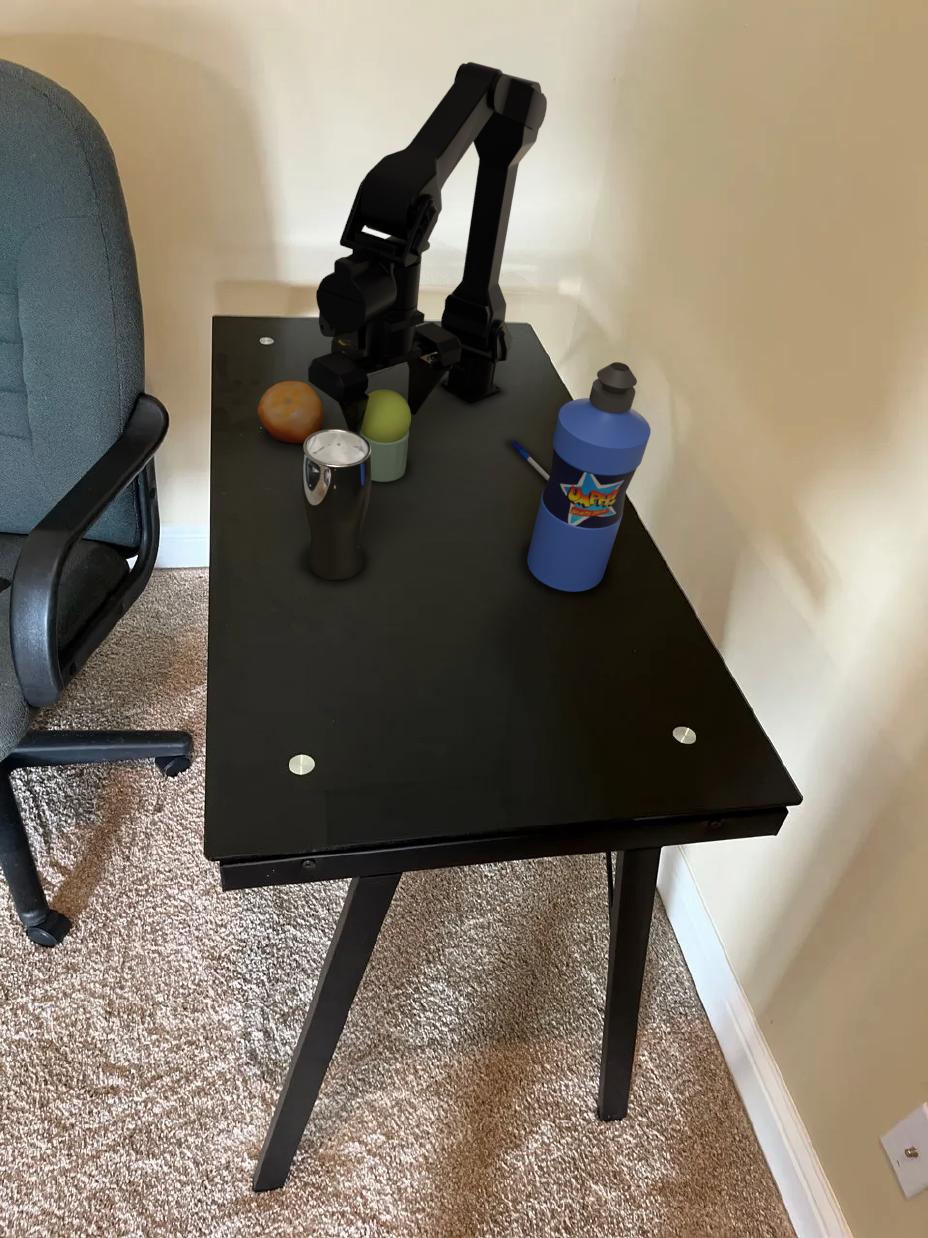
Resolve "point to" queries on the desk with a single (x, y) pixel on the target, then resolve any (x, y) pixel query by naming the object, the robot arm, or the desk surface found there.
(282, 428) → the fruit
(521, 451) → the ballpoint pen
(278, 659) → the desk surface
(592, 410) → the blue squeeze bottle
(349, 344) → the tape measure
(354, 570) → the metal tumbler
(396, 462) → the cup
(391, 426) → the ball
